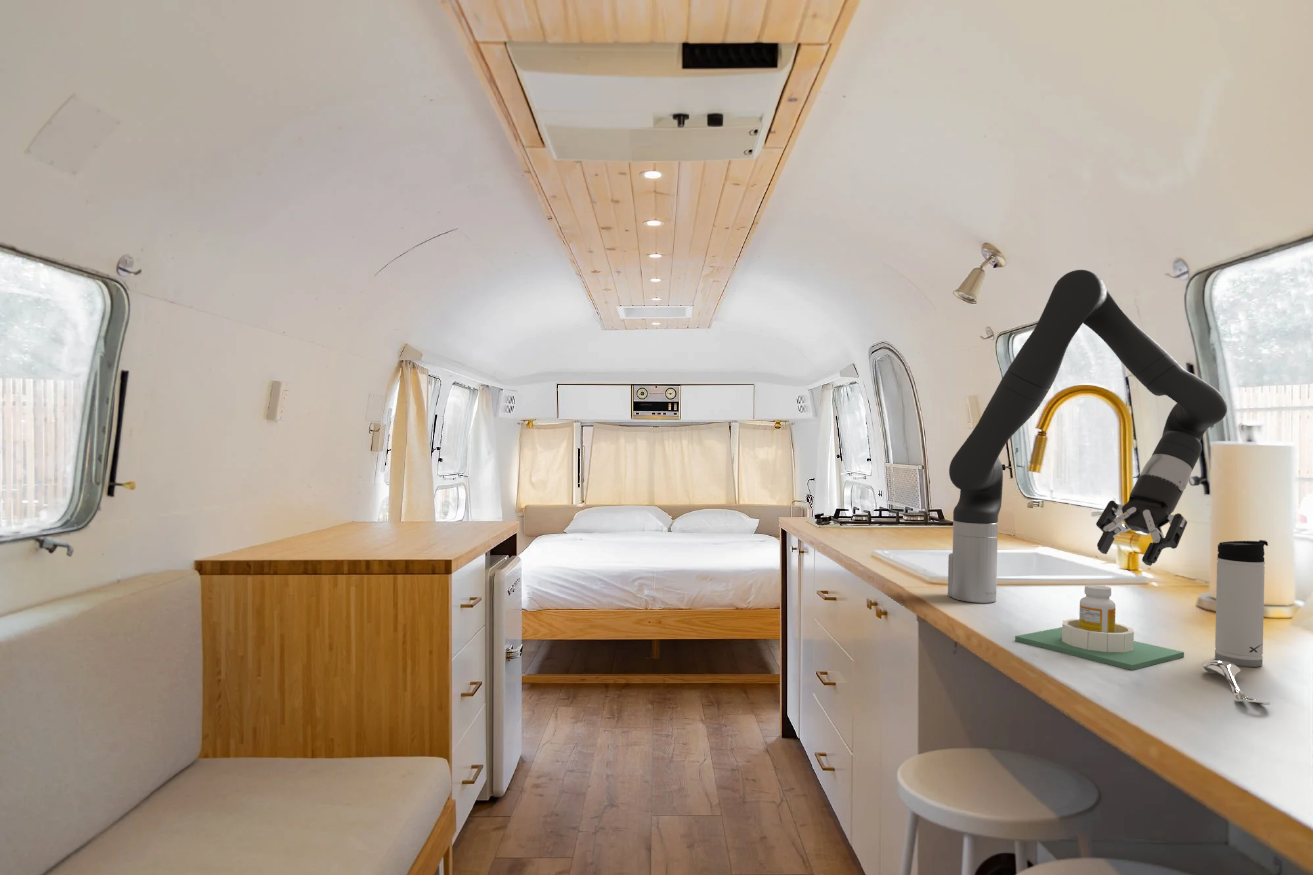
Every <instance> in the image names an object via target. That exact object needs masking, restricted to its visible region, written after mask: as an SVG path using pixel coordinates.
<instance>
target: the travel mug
mask: <svg viewBox="0 0 1313 875" xmlns="http://www.w3.org/2000/svg"><path fill="white" fill-rule="evenodd" d="M1265 546H1266V547H1268V546H1269V543H1268V541H1267V540H1265V539H1260V540H1233V541H1221V542H1219V544H1217V556H1216V557H1217V558H1216V561H1217V563H1216V590H1215V592H1216V597H1215V598H1216V600H1215V603H1216V604H1215V637H1214V638H1215V640H1214V642H1215V643H1214V644H1215V645H1214V647H1215V649H1214V658H1215V659H1216V660H1221V661H1227V662H1231V663H1233V664H1235V665H1236V666H1238V667H1243V668H1244V667H1245V668H1258V667H1261V666H1263V658H1264V657H1263V654H1264V617H1265V616H1264V613H1265V612H1264V611H1265V606H1264V605H1265V573H1266V572H1265V570H1266V569H1265V564H1266V561H1265V557H1264V556H1265Z"/></svg>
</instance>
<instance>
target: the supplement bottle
mask: <svg viewBox="0 0 1313 875" xmlns="http://www.w3.org/2000/svg"><path fill="white" fill-rule="evenodd" d="M1084 594H1085V596H1084V597H1082V598H1080V600H1079V613H1078V614H1079V618H1078V619H1079V629H1084V630H1088V631H1095V632H1104V633H1115V623H1116V603H1115V602H1114V600H1112V599H1110V597H1111V596H1112V588H1111V587H1110V586H1106V585H1101V584H1100V585H1099V584H1085V586H1084Z"/></svg>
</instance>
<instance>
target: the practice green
mask: <svg viewBox="0 0 1313 875" xmlns="http://www.w3.org/2000/svg"><path fill="white" fill-rule="evenodd" d="M1134 634H1135V632H1134V629H1133V628H1132V627H1131V626H1127V625H1124V624H1121V623H1117V622H1115V633H1104V632H1095V631H1088V630H1084V629H1079V618H1071V619H1065V620H1062V627H1056V628H1052V629H1051V628H1050V629H1046V630H1045V629H1044V630H1040V631H1035V632H1031V633H1023V634H1019V635H1018V634H1017V635H1015V636H1014V637H1015V638H1014V641H1016V642H1020V643H1023V644H1027V645H1031V646H1035V647H1039V648H1043V649H1047V650H1050V651H1053V652H1054V651H1055V652H1059V653H1062V654H1067V655H1070V656H1074V657H1078V658H1082V659H1087V660H1091V661H1095V662H1099V663H1103V664H1107V665H1111V666H1115V667H1118V668H1123V669H1126V670H1130V671H1134V670H1139V669H1142V668H1143V669H1144V668H1147V667H1150V666H1154V665H1157V664H1162V663H1165V662H1169V661H1174V660H1177V659H1181V658H1184V657H1185V652H1184V651H1181V650H1176V649H1172V648H1167V647H1163V646H1159V645H1156V644H1155V645H1154V644H1150V643H1147V642H1146V643H1144V642H1140V641H1136V640H1135V635H1134Z"/></svg>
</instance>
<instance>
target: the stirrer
mask: <svg viewBox="0 0 1313 875" xmlns="http://www.w3.org/2000/svg"><path fill="white" fill-rule="evenodd" d="M1202 668H1203V669H1204V670H1205V672H1207V673H1209V674H1210V673H1211V674H1219V675H1222V676H1223V677H1224V678H1225V679H1226V680H1227V681H1228V683H1229V684H1230V687H1231V691H1232V694H1233V695H1234V696H1235V699H1234V701H1235V702H1236V703H1238V702H1248V703H1256V704H1258V705H1261V706H1262V705H1263V706H1269V705H1271V702H1269V701H1265V700H1263V701H1262V700H1258V699H1253V698H1250V697H1249V696H1247V695H1246V694H1245V693H1244V692H1243V691H1242V689H1241V688H1240V686H1239V685H1238V683H1237V681H1236V675H1237V674H1238V673H1239V672H1241V668H1240V666H1236V665H1235V664H1233V663H1231V662H1227V661H1221V660H1217V659H1216V660H1215V659H1214V660H1209V661H1206V662H1205V663H1204V664H1203V665H1202Z"/></svg>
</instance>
